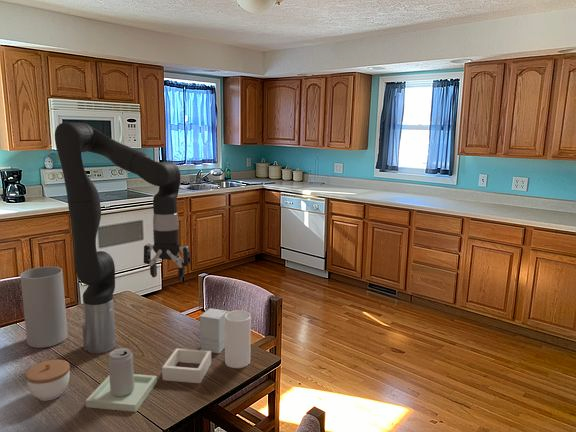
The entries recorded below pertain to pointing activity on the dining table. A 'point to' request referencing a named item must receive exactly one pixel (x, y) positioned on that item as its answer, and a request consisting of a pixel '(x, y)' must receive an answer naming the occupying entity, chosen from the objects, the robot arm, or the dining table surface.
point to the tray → (125, 403)
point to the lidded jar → (48, 379)
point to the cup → (237, 338)
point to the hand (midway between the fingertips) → (167, 277)
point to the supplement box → (212, 330)
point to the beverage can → (121, 372)
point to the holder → (183, 372)
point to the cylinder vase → (44, 306)
